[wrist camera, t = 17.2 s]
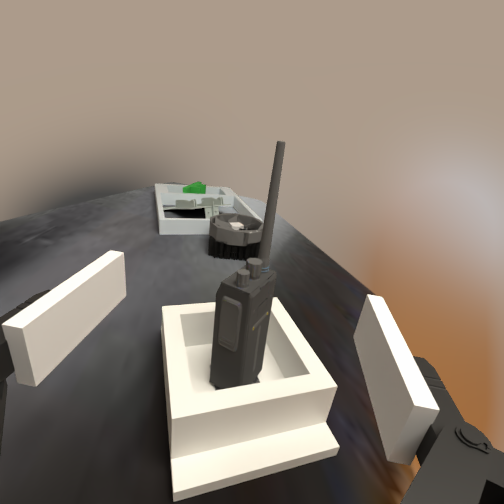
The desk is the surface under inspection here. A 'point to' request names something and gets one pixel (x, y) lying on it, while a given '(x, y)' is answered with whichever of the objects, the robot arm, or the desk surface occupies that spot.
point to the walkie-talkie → (246, 306)
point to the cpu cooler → (235, 235)
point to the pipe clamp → (195, 188)
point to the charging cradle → (241, 405)
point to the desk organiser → (171, 193)
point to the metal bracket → (201, 205)
